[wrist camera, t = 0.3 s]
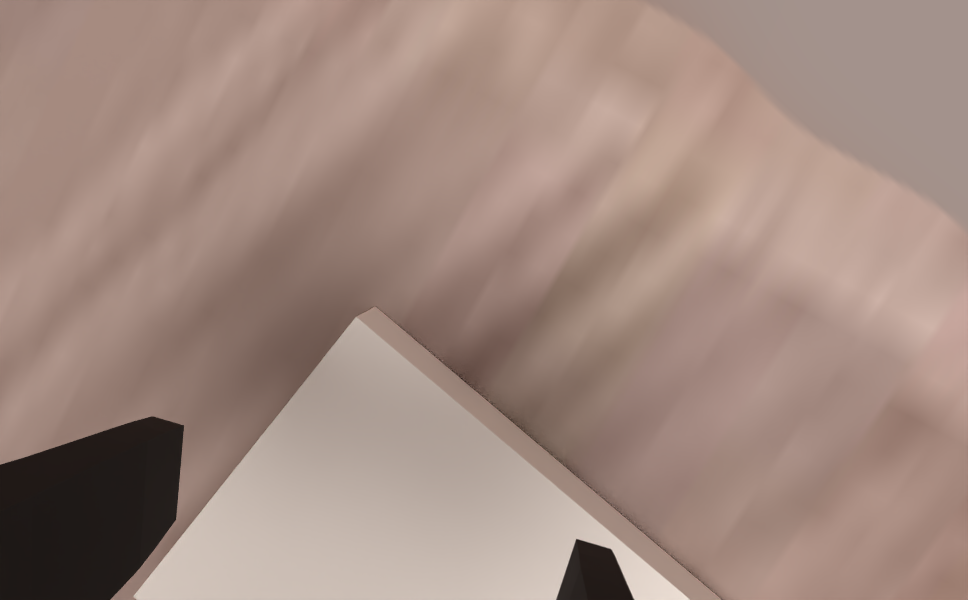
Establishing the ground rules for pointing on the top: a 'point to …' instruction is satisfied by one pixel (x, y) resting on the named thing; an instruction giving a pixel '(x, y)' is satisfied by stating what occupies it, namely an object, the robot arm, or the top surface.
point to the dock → (400, 497)
